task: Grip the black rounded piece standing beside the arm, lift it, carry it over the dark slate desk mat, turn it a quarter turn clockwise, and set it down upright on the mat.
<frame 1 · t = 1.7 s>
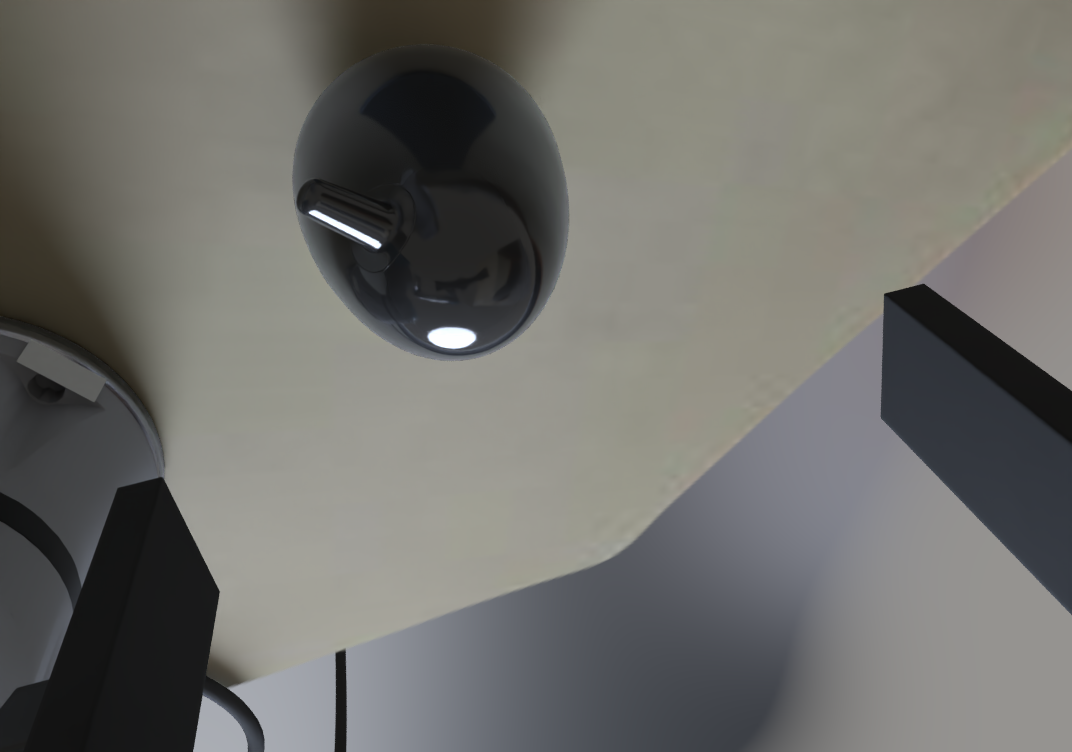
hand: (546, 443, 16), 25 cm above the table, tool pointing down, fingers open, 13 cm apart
black rounded piece: (417, 152, 38), on the table
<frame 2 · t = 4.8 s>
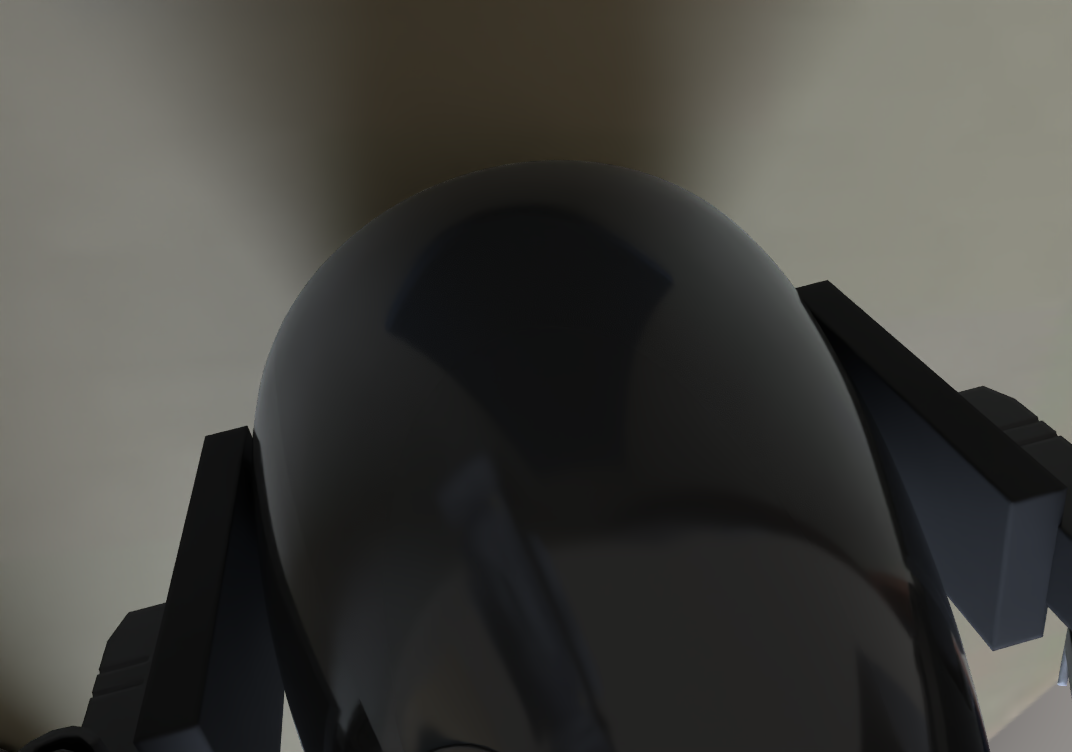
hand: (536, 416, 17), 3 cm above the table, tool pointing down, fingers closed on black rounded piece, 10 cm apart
black rounded piece: (503, 334, 20), on the table, touching gripper
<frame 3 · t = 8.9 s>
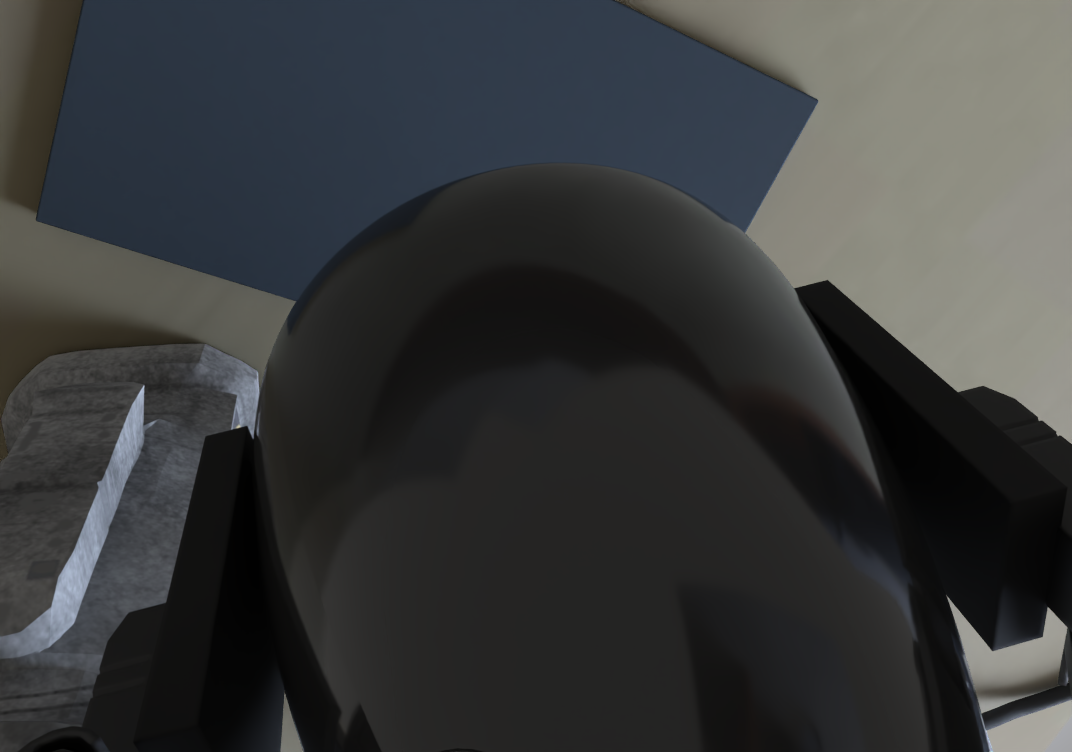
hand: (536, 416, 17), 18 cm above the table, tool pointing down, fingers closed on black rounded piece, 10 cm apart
figurine: (145, 458, 36), on the table
desk mat: (444, 153, 32), on the table
black rounded piece: (504, 336, 20), point 14 cm above the table, touching gripper
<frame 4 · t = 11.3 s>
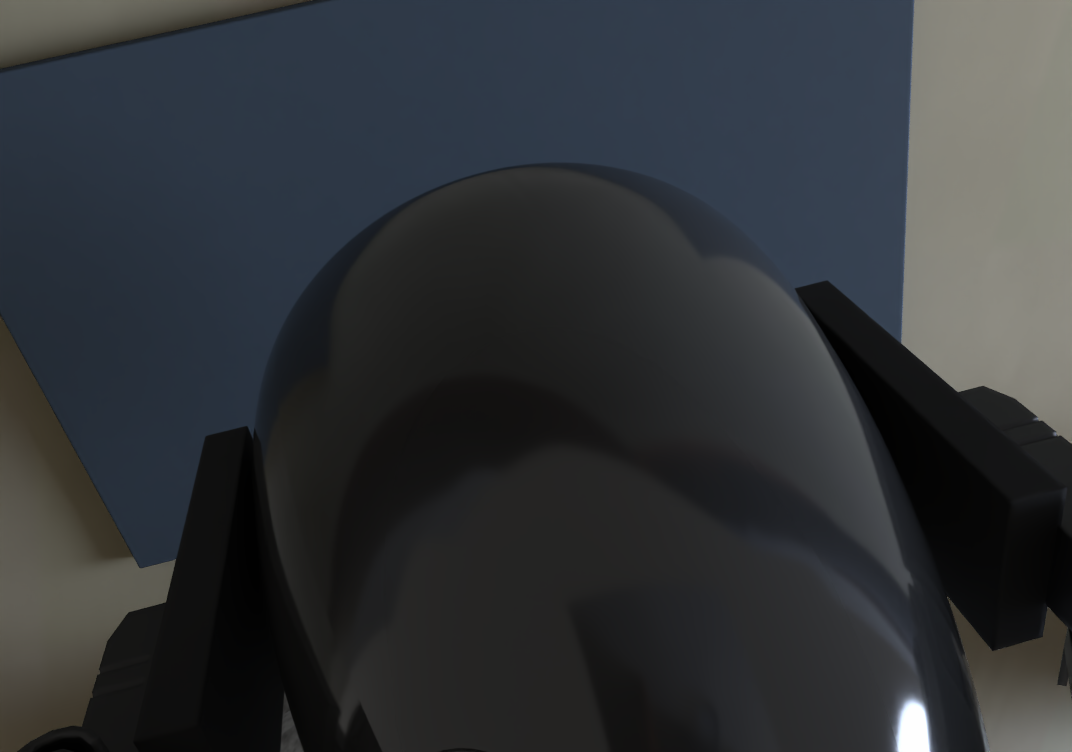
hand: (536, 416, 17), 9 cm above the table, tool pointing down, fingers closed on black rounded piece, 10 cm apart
figurine: (394, 696, 32), on the table
desk mat: (481, 252, 24), on the table
black rounded piece: (504, 336, 20), point 5 cm above the table, touching gripper
when the fingers open (4 cm above the table, at t = 13.1 s): black rounded piece stays where it is, resting on desk mat.
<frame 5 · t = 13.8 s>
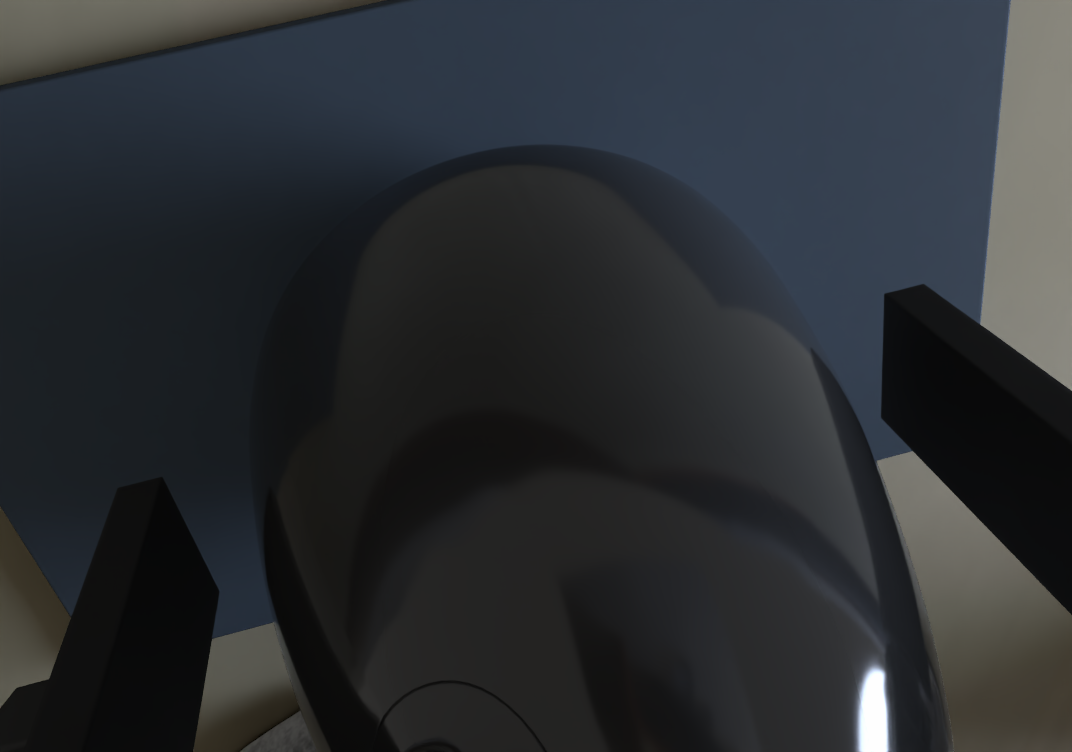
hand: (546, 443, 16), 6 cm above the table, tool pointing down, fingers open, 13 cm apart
desk mat: (496, 309, 21), on the table
black rounded piece: (494, 318, 21), resting on desk mat
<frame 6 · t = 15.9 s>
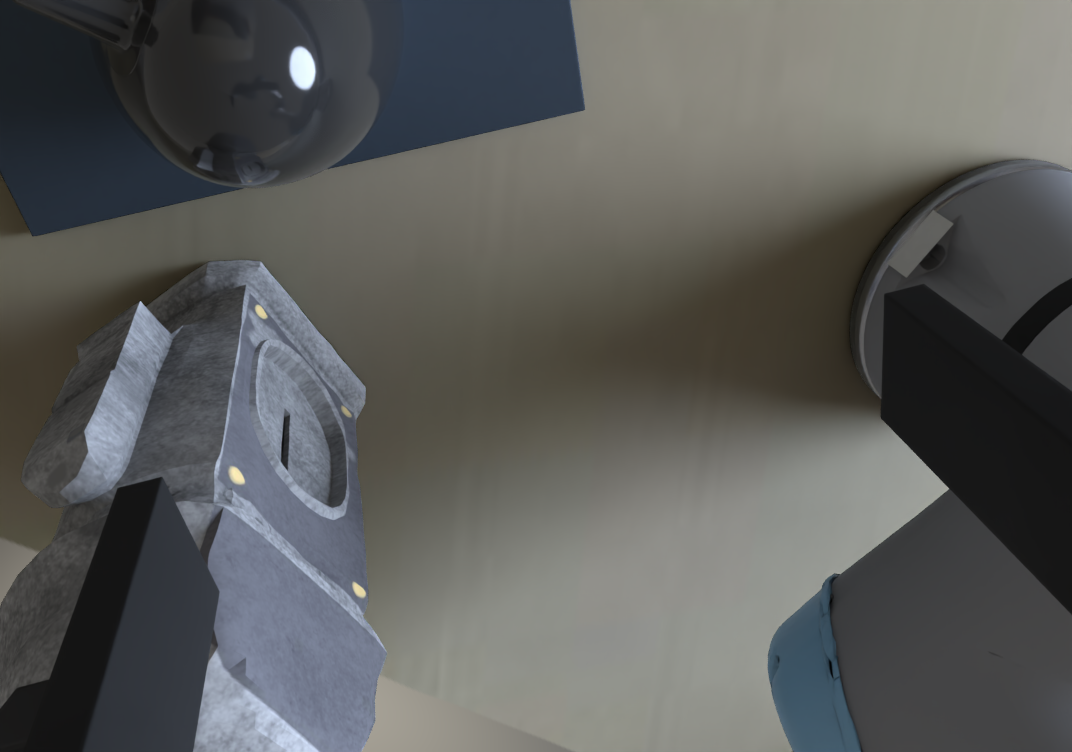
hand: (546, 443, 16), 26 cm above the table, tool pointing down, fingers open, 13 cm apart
figurine: (236, 373, 43), on the table
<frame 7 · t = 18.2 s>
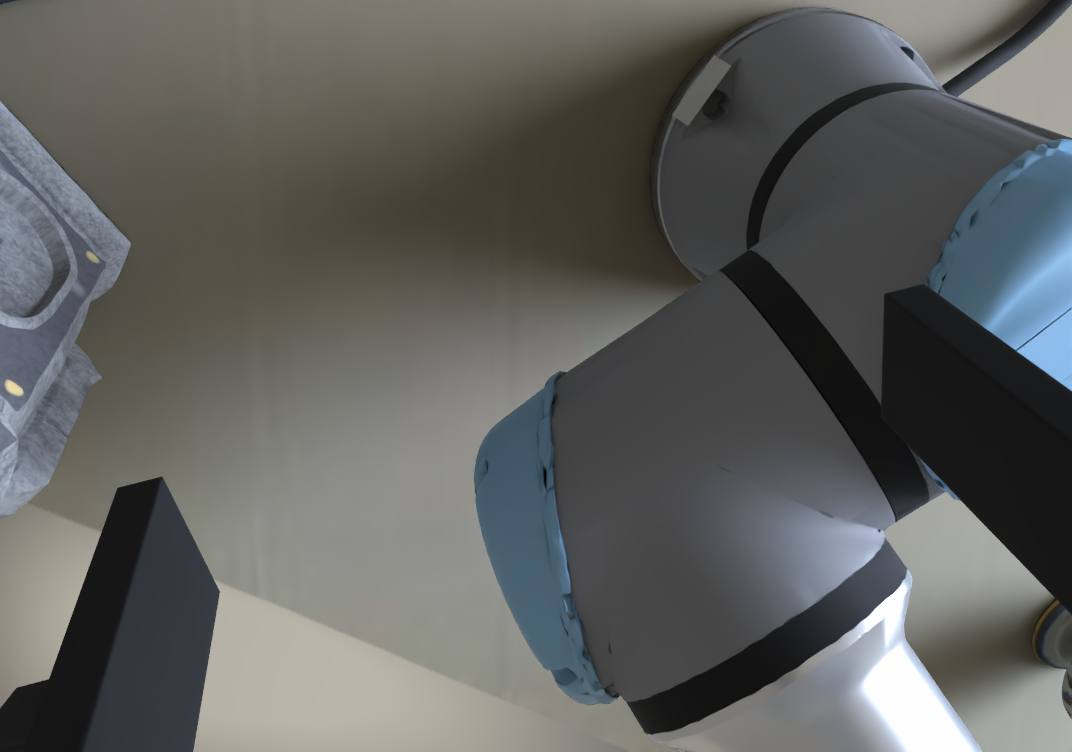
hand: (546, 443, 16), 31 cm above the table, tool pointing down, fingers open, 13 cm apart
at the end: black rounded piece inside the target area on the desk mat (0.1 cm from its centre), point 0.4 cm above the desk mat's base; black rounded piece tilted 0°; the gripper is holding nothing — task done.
